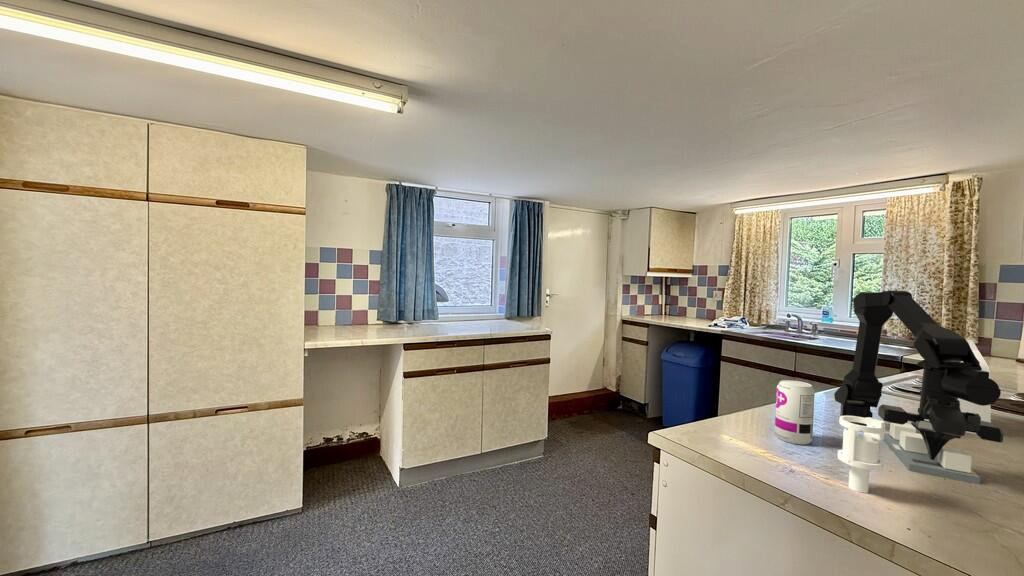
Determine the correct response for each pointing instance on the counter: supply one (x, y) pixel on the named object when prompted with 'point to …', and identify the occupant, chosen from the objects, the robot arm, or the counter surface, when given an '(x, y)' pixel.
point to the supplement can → (794, 412)
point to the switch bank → (926, 463)
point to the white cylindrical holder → (861, 449)
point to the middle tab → (912, 442)
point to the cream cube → (900, 429)
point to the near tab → (954, 459)
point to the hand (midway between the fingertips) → (932, 459)
